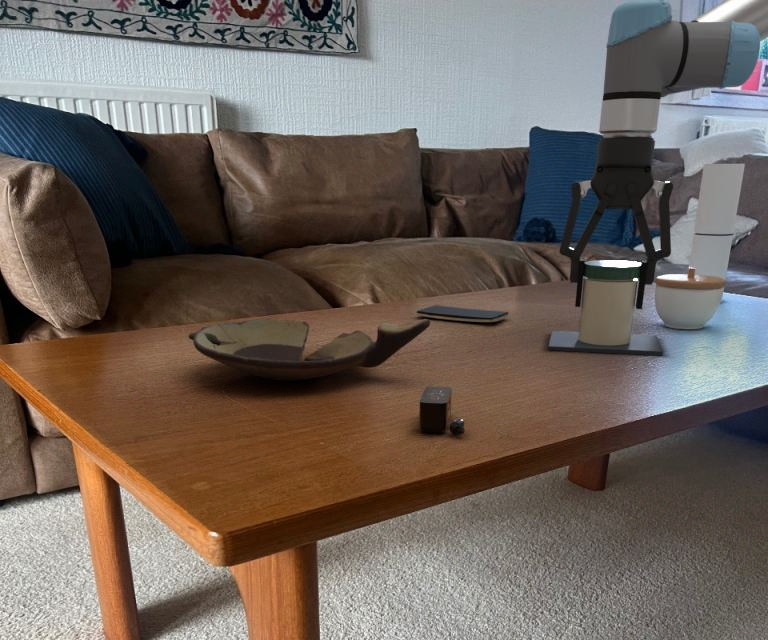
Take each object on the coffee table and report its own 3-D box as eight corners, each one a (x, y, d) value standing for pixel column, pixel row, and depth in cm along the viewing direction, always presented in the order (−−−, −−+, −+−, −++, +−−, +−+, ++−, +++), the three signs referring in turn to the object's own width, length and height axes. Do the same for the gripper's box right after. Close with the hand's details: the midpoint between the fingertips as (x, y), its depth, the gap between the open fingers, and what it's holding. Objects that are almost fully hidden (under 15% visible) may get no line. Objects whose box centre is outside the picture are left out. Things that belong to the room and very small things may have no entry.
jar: (628, 336, 120) (637, 266, 116) (631, 346, 113) (640, 272, 109) (578, 334, 122) (585, 265, 118) (577, 344, 115) (584, 271, 111)
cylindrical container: (679, 301, 155) (699, 163, 145) (689, 296, 161) (709, 163, 151) (716, 304, 152) (740, 163, 142) (725, 299, 157) (748, 163, 147)
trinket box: (655, 318, 138) (662, 263, 134) (720, 323, 133) (729, 266, 130) (645, 329, 129) (652, 270, 125) (714, 334, 125) (724, 273, 121)
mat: (656, 339, 121) (656, 335, 121) (662, 355, 111) (663, 351, 111) (551, 334, 125) (551, 330, 125) (548, 350, 114) (548, 346, 114)
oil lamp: (270, 347, 116) (267, 295, 113) (447, 374, 101) (448, 313, 98) (154, 379, 99) (147, 318, 96) (346, 416, 84) (344, 345, 81)
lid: (582, 279, 111) (583, 266, 110) (583, 272, 118) (584, 259, 118) (642, 280, 109) (643, 267, 109) (639, 273, 117) (640, 260, 116)
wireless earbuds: (417, 436, 78) (417, 404, 77) (425, 415, 84) (426, 386, 83) (463, 438, 77) (465, 406, 76) (468, 417, 84) (470, 387, 82)
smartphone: (434, 305, 144) (510, 311, 137) (434, 311, 145) (509, 318, 137) (415, 310, 138) (492, 318, 131) (415, 317, 139) (492, 325, 132)
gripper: (704, 136, 107) (679, 305, 117) (550, 138, 112) (538, 300, 121) (712, 134, 101) (685, 313, 110) (547, 136, 105) (535, 308, 114)
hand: (608, 306), depth 116 cm, fingers closed on lid, 8 cm apart
